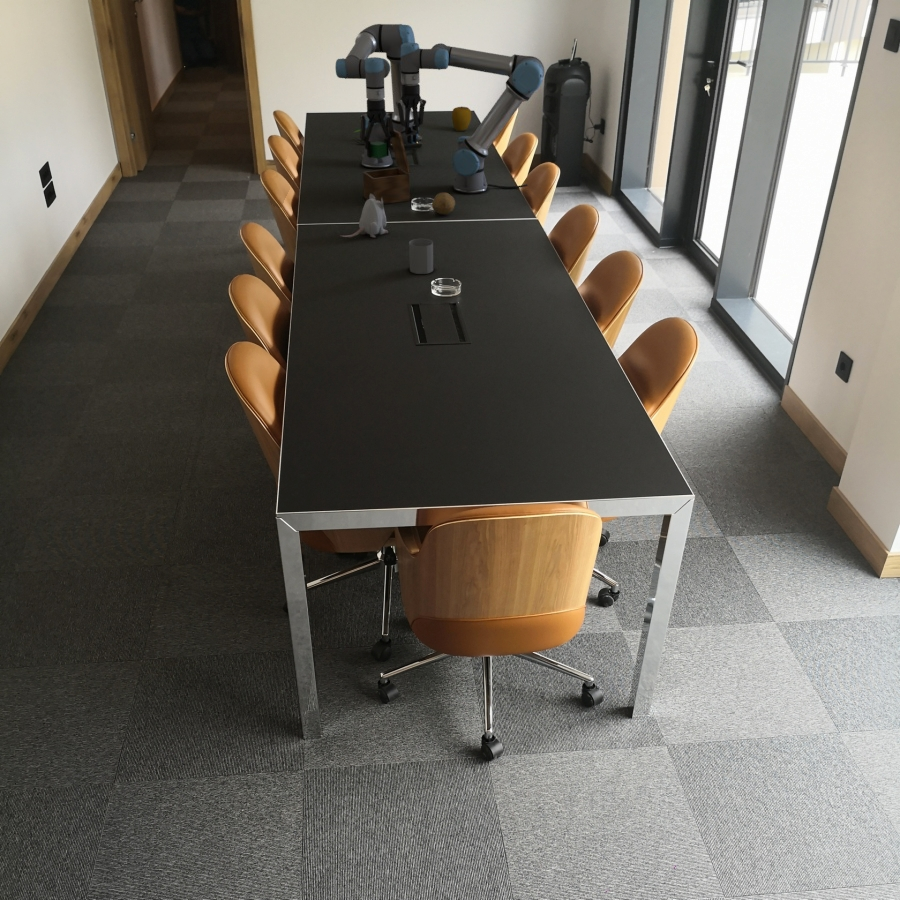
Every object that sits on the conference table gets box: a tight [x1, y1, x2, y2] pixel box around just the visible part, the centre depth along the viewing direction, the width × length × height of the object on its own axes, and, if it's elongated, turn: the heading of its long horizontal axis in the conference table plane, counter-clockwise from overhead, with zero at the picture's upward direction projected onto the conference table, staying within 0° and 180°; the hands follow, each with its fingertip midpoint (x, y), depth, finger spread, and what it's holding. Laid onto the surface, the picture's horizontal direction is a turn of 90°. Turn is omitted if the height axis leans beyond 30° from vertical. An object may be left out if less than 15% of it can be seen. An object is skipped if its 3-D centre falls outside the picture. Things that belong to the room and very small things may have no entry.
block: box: [371, 141, 387, 159], centre depth 368 cm, size 6×6×6 cm
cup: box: [408, 237, 434, 275], centre depth 305 cm, size 8×8×10 cm
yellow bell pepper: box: [451, 105, 472, 132], centre depth 487 cm, size 11×11×13 cm
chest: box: [362, 167, 411, 205], centre depth 377 cm, size 17×12×11 cm
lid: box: [388, 127, 417, 174], centre depth 373 cm, size 17×12×9 cm
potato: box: [431, 192, 456, 216], centre depth 360 cm, size 10×14×8 cm
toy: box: [341, 194, 389, 239], centre depth 333 cm, size 9×24×15 cm, turn 137°
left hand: (378, 155), depth 369 cm, fingers closed on block, 7 cm apart
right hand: (412, 142), depth 372 cm, fingers closed on lid, 2 cm apart
